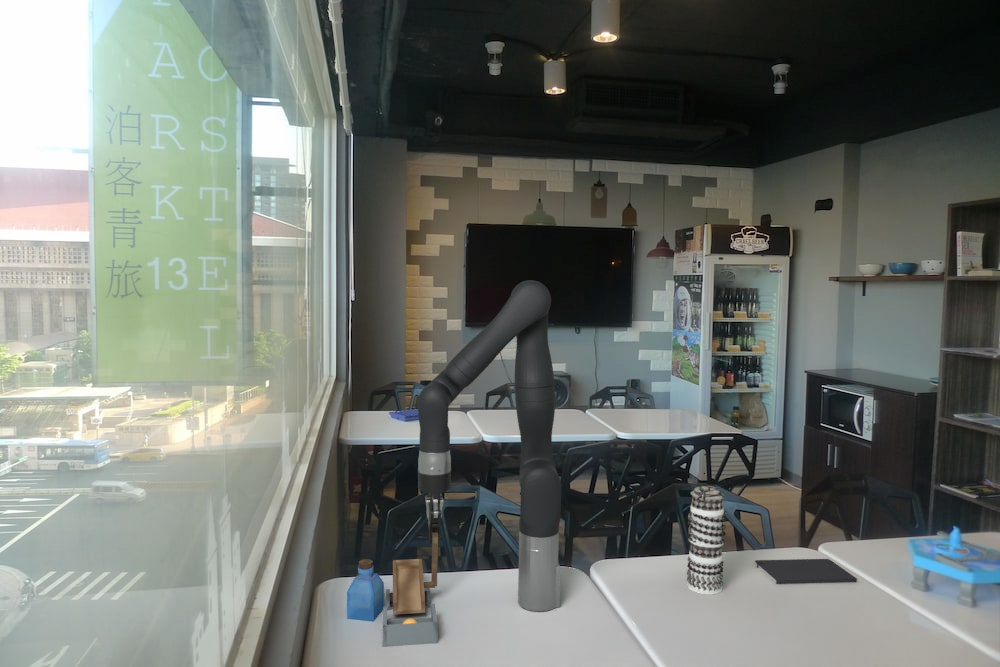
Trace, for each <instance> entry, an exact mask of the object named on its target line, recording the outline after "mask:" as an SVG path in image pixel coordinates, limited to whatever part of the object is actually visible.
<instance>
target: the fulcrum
mask: <svg viewBox="0 0 1000 667" xmlns="http://www.w3.org/2000/svg"><path fill="white" fill-rule="evenodd" d="M385 591H386V592H385V593H386V594H385V597H386V598H385V603H386V604H385V607H386V606H387V611H392V610H391V609H393V591H392V592H391V589H390V588H389V589H388V588H387V589H386V590H385ZM424 592H425V609H426V608H431V588H425V590H424Z"/></svg>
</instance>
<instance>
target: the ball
mask: <svg viewBox="0 0 1000 667" xmlns="http://www.w3.org/2000/svg"><path fill="white" fill-rule="evenodd" d="M406 619H407V620H405V621H404V622H403V624H410V623H417V622H416V621H415V620H414V619H412V618H406Z"/></svg>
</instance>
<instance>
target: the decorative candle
mask: <svg viewBox="0 0 1000 667" xmlns="http://www.w3.org/2000/svg"><path fill="white" fill-rule="evenodd" d="M690 495H691V504H690V511H689V513H688V514H687V519H688V520H687V525H688V526H689V527H688V529H687V533H688V536H687V538H688V542H690V543H689V547H690V548H689V551H688V552H689V553H688V557H687V565H686V566H687V568H688V569H687V570H686V574H687V577H686V581H687V584H686V587H687V588H688V589H689V591H692V592H694V593H697V594H701V595H707V596H709V595H710V596H711V595H712V596H714V595H719V594H721V593H722V592H723V585H724V584H723V583H724V581H723V580H724V575H723V572H724V561H723V553H722V552H723V551H722V549H723V546H724V545H725V539H723V537H724V536H726V532H725V530H726V525H725V524H724V523H725V522H726V521H727V517H726V515H727V513H728V512H727V511H725V510H724V508H725V507H724V498H725V497H726V496H725V494H724V493H722V491H721V490H720V488H718V487H715V486H712V485H698V486H696V487H695V488H694V489H693V490H692V491H690Z"/></svg>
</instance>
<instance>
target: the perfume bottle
mask: <svg viewBox="0 0 1000 667" xmlns="http://www.w3.org/2000/svg"><path fill="white" fill-rule="evenodd" d="M373 562H374V561H373V560H372V559H370V558H365V559H364V558H363V559H361V560H359V561H358V567H357V574H356V576H355V577H354V578H353V579H352V581H351V583H350V585H349V586H348V588H347V591H346V619H347V620H354V621H355V620H356V621H363V622H373V623H374V622H375V621H376V620H377V619H378V617H379V615H380V614H381V613H383V611H382V610H383V607H385V593H384V592H385V583H384V581H383V579H382V578H381V577H380V575H379V574H378V573H375V572H374V570H375V569H374V565H373Z"/></svg>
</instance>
